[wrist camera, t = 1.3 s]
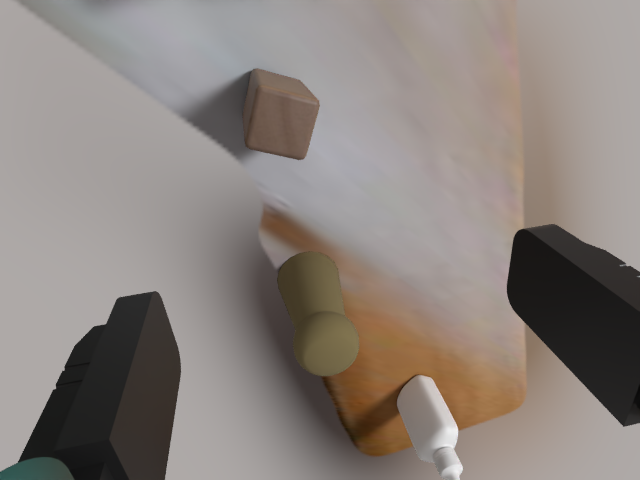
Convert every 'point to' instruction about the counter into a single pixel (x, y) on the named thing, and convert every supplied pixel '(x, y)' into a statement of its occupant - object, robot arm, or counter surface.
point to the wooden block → (278, 115)
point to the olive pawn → (318, 314)
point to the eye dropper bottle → (430, 425)
